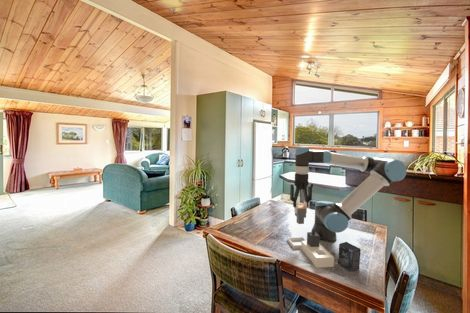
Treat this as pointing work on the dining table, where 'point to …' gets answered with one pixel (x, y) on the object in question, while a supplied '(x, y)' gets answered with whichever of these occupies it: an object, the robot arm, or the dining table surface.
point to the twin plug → (313, 238)
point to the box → (349, 256)
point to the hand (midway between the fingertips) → (300, 212)
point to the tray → (295, 242)
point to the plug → (301, 214)
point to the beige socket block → (318, 255)
